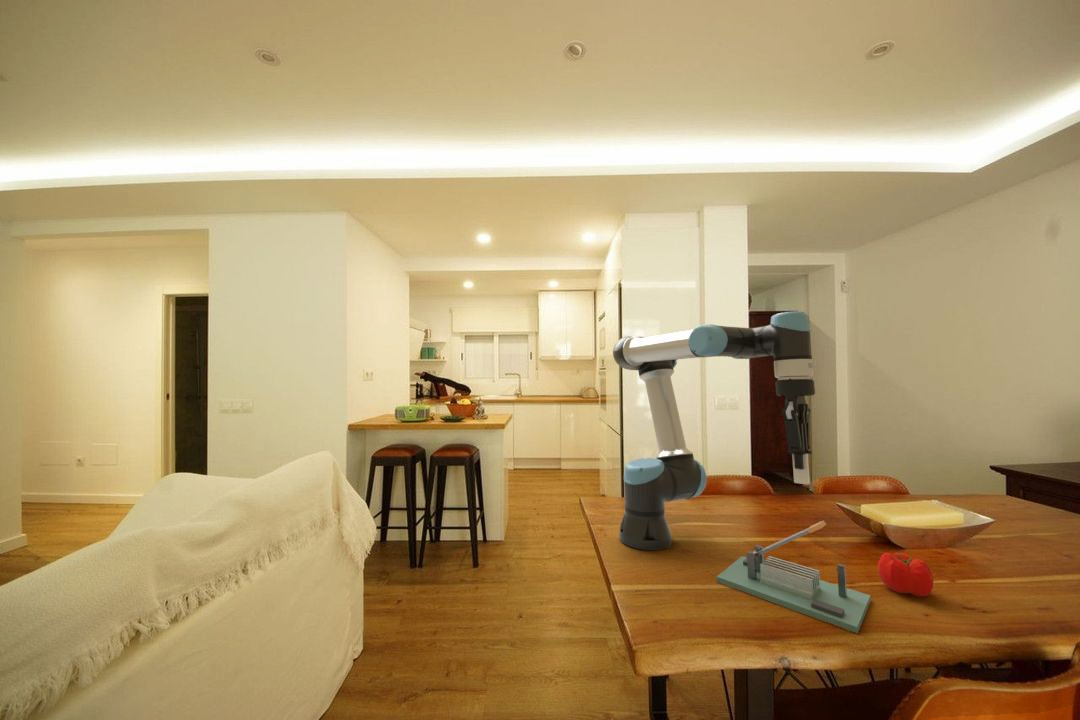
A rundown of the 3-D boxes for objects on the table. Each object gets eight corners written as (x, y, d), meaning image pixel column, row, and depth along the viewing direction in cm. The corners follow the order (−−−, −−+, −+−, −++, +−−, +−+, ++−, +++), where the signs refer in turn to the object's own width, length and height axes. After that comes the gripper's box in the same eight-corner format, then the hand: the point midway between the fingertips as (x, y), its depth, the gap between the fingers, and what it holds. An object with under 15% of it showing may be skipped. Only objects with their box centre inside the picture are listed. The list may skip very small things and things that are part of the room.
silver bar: (747, 578, 91) (746, 550, 91) (758, 567, 96) (757, 541, 96) (839, 609, 78) (838, 577, 78) (846, 595, 83) (845, 565, 83)
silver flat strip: (752, 560, 92) (748, 554, 92) (757, 556, 94) (753, 550, 94) (823, 528, 82) (818, 522, 82) (827, 525, 84) (822, 518, 85)
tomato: (869, 581, 92) (868, 548, 92) (908, 581, 91) (906, 548, 92) (905, 603, 82) (903, 567, 83) (948, 604, 82) (946, 567, 82)
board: (716, 581, 91) (716, 573, 91) (742, 560, 102) (742, 552, 102) (857, 633, 72) (857, 622, 72) (870, 601, 83) (870, 591, 83)
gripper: (805, 377, 82) (814, 491, 80) (820, 378, 91) (829, 481, 89) (766, 379, 88) (773, 485, 85) (784, 379, 96) (791, 476, 94)
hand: (802, 483), depth 87 cm, fingers closed
